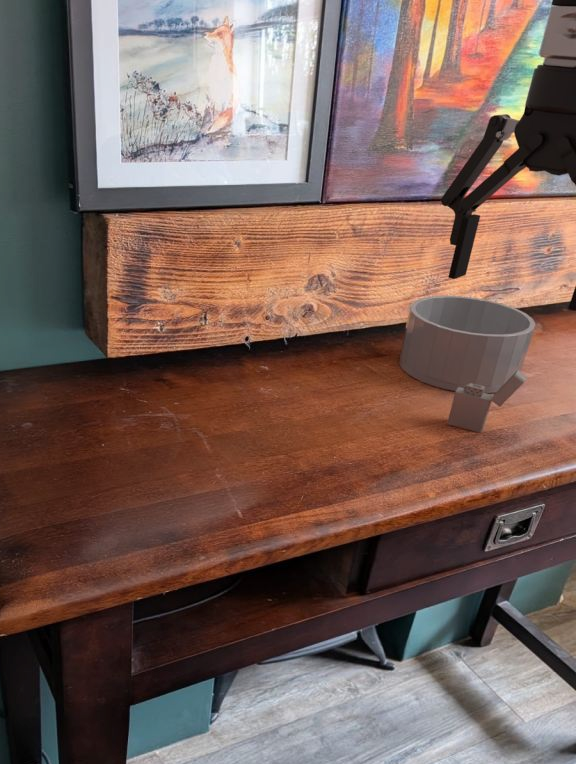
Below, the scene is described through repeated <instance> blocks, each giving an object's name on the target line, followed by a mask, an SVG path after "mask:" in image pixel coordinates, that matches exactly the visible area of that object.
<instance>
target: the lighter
mask: <svg viewBox="0 0 576 764" xmlns="http://www.w3.org/2000/svg"><path fill="white" fill-rule="evenodd" d="M527 378H528V377H527V375H525V374H524V373H522V371H521V372H520V371H518V370H517V371H516V372H515V373H514V374H513V375H512V376H511V377H510V378H509V379H508V381H507V382H506V383H505V384H504V385H503V386H502V387H501V388H500V389H499V390H498V391H497V392H496V393H493V395H492V394H491V393H484V390H485V386H481V385H476V384H472V383H470V384H467V385H465V386H464V387H463V388H461V387H458V388H457V390H456V391H454V396H453V398H452V403H451V406H450V407H451V408H450V411H449V414H448V417H447V422H446V424H447V425H450V426H453V427H458V428H460V429H464V430H468V431H472V432H476V433H483V430H484V428H485V425H486V421H487V419H488V416H489V415H488V414H489V411H490V408H491V404H492V402H493V403H494V404H495V405H496V406H497V407H499V408H500V407H502V406H503V405H504V404H505V403H506V402H507V400H509V398H511V396H513V394H514V393H516V392H517V390H518V389H520V388H521V386H522V385H523V384H524V383H525V382H526V381H527Z"/></svg>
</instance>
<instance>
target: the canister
mask: <svg viewBox="0 0 576 764" xmlns="http://www.w3.org/2000/svg"><path fill="white" fill-rule="evenodd" d="M535 327H536V322H535V320H534V319H533V317H531V315H529V314H527V313H526V312H524V311H522V310H520V309H518V308H516V307H512V306H510V305H507V304H504V303H501V302H497V301H493V300H489V299H485V298H479V297H471V296H461V295H433V296H426V297H422V298H419V299H416V300H415V301H413V302H412V303H411V304H410V306H409V310H408V315H407V319H406V323H405V329H404V334H403V338H402V343H401V348H400V352H399V354H400V355H399V359H398V364H399V366H400V367H401V370H403V371H404V373H406V374H407V375H409V376H410V377H412V378H413V379H415V380H417V381H420V382H422V383H424V384H427V385H429V386H432V387H436V388H439V389H443V390H447V391H453V392H456V390H457V388H458V387H461V388H463V387H464V386H465V385H467V384H470V383H472V384H476V385H481V386H485V390H484V393H486V394H495V393H496V392H497V391H498V390H499V389H500V388H501V387H502V386H503V385H504V384H505V383H506V382H507V381H508V379H509V378H510V377H511V376H512V375H513V374H514V373H515V372H516V371H517V370H518V371H520V372H521V373H522V369H523V366H524V363H525V359H526V356H527V354H528V350H529V348H530V343H531V340H532V337H533V334H534V330H535Z"/></svg>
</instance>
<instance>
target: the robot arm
mask: <svg viewBox="0 0 576 764" xmlns="http://www.w3.org/2000/svg"><path fill="white" fill-rule="evenodd" d="M538 55H539V57H540V58H543V61H542V64H538V65H537V67H535V68H534V69H533V73H532V76H531V81H530V84H529V87H528V92H527V95H526V100H525V105H524V110H523V111H524V112H523V114H522V116H521V118H520V119H515V118H511V116H510V114H507V113H506V114H504V113H503V114H494V115H492V116H491V117H490V118H489V120H488V122H487V126H486V129H485V130H484V131H485V132H484V134H483V137H482V139H481V141H480V142H479V143H478V145H477V146H476V148H475V149H474V151H473V152H472V154H471V155H470V156H469V158H468V159H467V161H466V162H465V163H464V165H463V167H461V169H460V170H459V172H458V174H457V175H456V176H455V178H454V179H453V181H452V182H451V184H450V185H449V187H448V188H447V189H446V191H445V192H444V194H443V195H442V197H441V200H440V202H441V205H442V206H444V207H448V208H449V209H451V210H452V211H453V213H454V219H453V223H452V228H451V232H450V237H449V244H450V245H451V246H454V250H453V256H452V259H451V264H450V268H449V272H448V278H449V279H452V280H456V279H459V278H462V277H464V276H466V275H467V271H468V267H469V263H470V260H471V255H472V253H473V252H472V251H473V247H474V243H475V239H476V235H477V232H478V227H479V223H480V219H481V215H479V214H475V212H476V211H477V209H478V208H479V207H481V206H482V204H484V203H485V202H486V201H488V199H490V198H491V197H493V195H495V194H496V193H497V192H498V191H499V190H500V189H501V188H502V187H503V186H505V185H506V184H507V183H508V182H509V181H511V180H512V179H513V178H514V177H515V176H516V175H518V174H519V173H520V172H522V171H523V170H525V169H526V168H527V169H528V171H529V172H534V173H537V172H547V173H548V174H551V175H554V176H565V175H568V177H569V178H570V181H571V182H572V183H573V184H574V185H575V186H576V0H552V1H551V5H550V7H549V12H548V16H547V20H546V24H545V28H544V31H543V35H542V39H541V42H540V46H539V51H538ZM513 133H514V137H515V141H516V143H517V146H518V148H517V149H516V150H515V151H514V152H512V154H510V155H509V156H508V158H506V159H505V160H504V161H503V163H501V165H500V166H498V168H496V169H495V170H494V171H493V172H492V173H491V174H490V175H489V176H488V177H487V178H485V179H484V180H483V181H482V182H481V183H480V184H479V185H478V186H476V187H475V188H474V189H473V190H471V188H472V187H473V185H474V183H475V182H476V181H477V180H478V178H479V177H480V176H481V174H482V173H483V171H484V170H485V168H486V167H487V166H488V164H489V163H490V161H491V160H492V159H493V157H494V156H495V155H496V154H497V152H498V151H499V149H500V148H501V146H502V144H503V143H504V141H507V140H509V139H510V138H511V136H512V134H513ZM469 190H471V192H469ZM468 192H469V194H468V195H467V193H468ZM567 310H570V311H574V312H576V285H575V287H574V290H573V292H572V296H571V298H570V301H569V305H568V308H567Z"/></svg>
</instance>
